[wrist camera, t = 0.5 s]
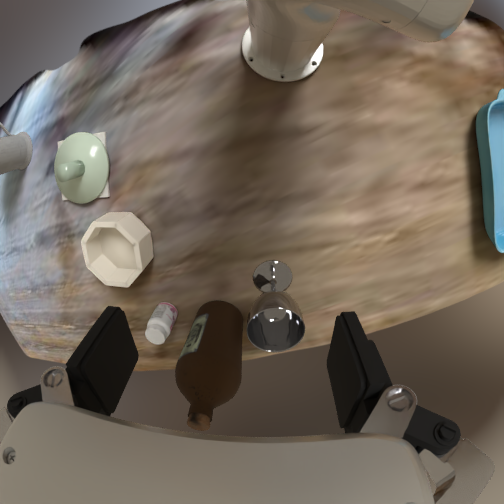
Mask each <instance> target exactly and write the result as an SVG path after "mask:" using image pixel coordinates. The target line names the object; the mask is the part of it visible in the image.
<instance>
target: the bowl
mask: <svg viewBox="0 0 504 504" xmlns="http://www.w3.org/2000/svg"><path fill="white" fill-rule="evenodd" d="M81 244H82V249H83V254H84V258H85V263H86V266H87V268H88V269H89V270H90V271H91V272H92V273H93V274H94V275H95V276H96V277H97V278H98V279H100V280H101V281H102V282H103V283H104V284H106V285H109V286H119V287H129V286H130V285H131V284H132V283H133V281H134V280H135V279H136V278H137V277H138V276H139V275H140V273H141V272H142V271H143V270H144V269H145V267H146V266H147V265H148V264H149V262H150V261H151V260H152V259H153V257H154V255H153V242H152V238H151V232H150V230H149V229H148V228H147V227H146V226H145V224H144V223H143V222H142V221H141V220H140V219H139V218H137V217H136V216H135V215H134V214H133V213H132V212H108V213H107V214H105V215H103V216H102V217H100V218H98V219H97V220H95V221H93V222H92V224H91V225H90V227H89V228H88V230H87V232H86V233H85V235H84V237H83V238H82V240H81Z"/></svg>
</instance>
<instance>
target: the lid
mask: <svg viewBox="0 0 504 504" xmlns="http://www.w3.org/2000/svg"><path fill="white" fill-rule="evenodd" d="M109 170H110V163H109V157H108V153H107V150H106V148H105V146H104V144H103V143H102V142H101V140H100V139H99V138H98V137H97V136H95V135H93V134H91V133H88V132H79V133H75V134H72V135H70V136H69V137H68V138H66V139H65V140H64V142H63V143H62V144H61V146H60V147H59V149H58V152H57V154H56V158H55V165H54V171H55V178H56V182H57V185H58V187H59V189H60V191H61V192H62V194H63V195H64V196H65V197H66V198H67V199H69V200H70V201H72V202H74V203H78V204H84V203H88V202H90V201H92V200H94V199H96V198H97V197H98V196H99V195H100V194H101V193H102V191H103V190H104V188H105V186H106V184H107V181H108V177H109Z"/></svg>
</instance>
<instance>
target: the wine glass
mask: <svg viewBox="0 0 504 504" xmlns="http://www.w3.org/2000/svg"><path fill="white" fill-rule="evenodd" d="M253 281H254V284H255V286H256V287H257V288H258V289H259V290H260V291H261V292H263V294H261V295H260V296H259V297H258V298H257V299H256V300H255V301H254V303H253V305H252V307H251V309H250V312H249V315H248V321H247V336H248V339H249V340H250V342H251V343H252V344H253V345H254V346H255V347H257V348H259V349H261V350H263V351H267V352H282V351H286V350H289V349H291V348H293V347H294V346H296V345H297V344H298V343H299V342H300V341H301V340H302V338H303V336H304V333H305V325H304V320H303V316H302V312H301V310H300V308H299V306H298V304H297V303H296V301H295V300H294V299H293V298H292V297H291V296H290V295H289V294H287V293H285V292H283V291H285V290H286V289H287V288H288V287H289V286H290V284H291V282H292V272H291V270H290V268H289V267H288V266H287V265H286V264H284V263H283V262H280V261H276V260H270V261H266V262H263V263H262V264H260V265H259V266H258V267H257V268H256V269H255V271H254V274H253Z"/></svg>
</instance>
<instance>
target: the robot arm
mask: <svg viewBox="0 0 504 504" xmlns="http://www.w3.org/2000/svg"><path fill="white" fill-rule="evenodd" d="M473 2H474V0H246V3H247V10H248V17H249V25H250V27H249V28H248V29H247V31H246V32H245V34H244V36H243V40H242V52H243V56H244V58H245V60H246V62H247V63H248V65H249V66H250V67H251V68H252V69H253V70H254V71H255V72H256V73H258V74H259V75H261V76H262V77H265V78H267V79H270V80H273V81H278V82H293V81H297V80H300V79H303V78H305V77H307V76H309V75H310V74H312V73H313V72H314V71H315V70H316V69H317V67H318V66H319V64H320V62H321V60H322V57H323V44H322V42H323V41H324V39H325V38H326V36H327V35H328V33H329V32H330V31H331V29H332V28H333V26H334V25H335V23H336V22H337V20H338V17H339V15H340V10H345V11H348V12H351V13H353V14H356V15H359V16H362V17H364V18H367V19H369V20H372V21H374V22H377V23H379V24H381V25H384V26H386V27H388V28H390V29H393V30H395V31H397V32H399V33H401V34H404V35H406V36H408V37H410V38H413V39H416V40H419V41H423V42H437V41H441V40H443V39H445V38H447V37H448V36H449V35H451V34H452V33H453V32H454V31H455V30H456V29H457V27H458V26H459V25H460V24H461V22H462V21H463V19H464V18H465V16H466V15H467V13H468V11H469V9H470V7H471V5H472V3H473ZM251 59H252V60H253V61H252V62H250V60H251ZM312 64H314V66H313V65H312ZM281 76H283V77H284V78H283V79H282V78H281ZM137 361H138V351H137V348H136V346H135V343H134V340H133V337H132V334H131V331H130V328H129V325H128V322H127V319H126V316H125V313H124V311H122V310H121V308H120V307H113V306H108V307H107V308H106V309H105V310H104V312H103V313H102V314H101V316H100V317H99V318H98V320H97V321H96V322H95V324H94V325H93V326H92V328H91V329H90V330H89V332H88V333H87V335H86V336H85V337H84V339H83V340H82V342H81V343H80V344H79V346H78V347H77V349H76V350H75V351H74V353H73V354H72V356H71V357H70V359H69V360H68V362H67V363H66V365H67V368H66V369H64V368H62V367H57V366H56V367H51V368H49V369H48V370H46V371H45V372H44V374H43V375H42V377H41V384H40V385H38V386H35V387H32V388H29V389H27V390H24V391H21V392H19V393H16V394H14V395H13V396H12V397H11V398H10V399H9V401H8V404H7V409H6V408H5V407H4V408H2V409H1V410H0V504H473V503H474V502H475V500H476V499H477V498H478V496H479V495H480V494H481V492H482V491H483V489H484V488H485V486H486V485H487V483H488V481H489V480H490V479H491V477H492V475H493V473H494V463H493V461H492V460H491V459H490V458H489V457H488V456H487V455H486V454H485V453H483V452H482V451H481V450H480V449H479V448H477V447H476V446H475V445H474V444H473V443H471V442H470V441H469V440H468V439H466V438H465V439H464V440H463V439H462V438H461V437H460V436H461V435H460V429H459V427H458V426H457V424H456V423H454V422H453V421H451V420H449V419H447V418H444V417H442V416H440V415H438V414H435V413H433V412H431V411H429V410H427V409H424V408H422V407H420V406H418V405H417V398H416V395H415V394H414V392H413V391H412V390H411V389H409V388H407V387H406V386H402V385H394V386H393V385H392V383H391V380H390V378H389V375H388V373H387V371H386V368H385V366H384V364H383V361H382V359H381V357H380V355H379V352H378V350H377V348H376V345H375V343H374V342H373V341H372V340H368V339H367V337H366V335H365V333H364V330H363V328H362V326H361V324H360V322H359V319H358V317H357V315H356V313H355V312H342V313H341V314H340V316H337V317H336V321H335V326H334V331H333V336H332V340H331V345H330V350H329V354H328V358H327V369H328V373H329V378H330V382H331V387H332V391H333V396H334V400H335V405H336V409H337V415H338V420H339V424H340V427H341V428H344V429H345V433H343V434H329V435H317V436H304V437H303V436H301V437H235V436H219V435H208V434H198V433H189V432H182V431H176V430H170V429H164V428H158V427H153V426H148V425H143V424H138V423H134V422H130V421H125V420H121V419H117V418H114V417H110V415H111V413H113V412H114V411H115V409H116V407H117V405H118V402H119V400H120V398H121V396H122V393H123V391H124V389H125V387H126V384H127V382H128V380H129V378H130V376H131V373H132V371H133V369H134V367H135V365H136V363H137ZM426 471H427V472H428V473H429V474H430V475H429V477H430V478H431V479H433V481H434V482H435V484H436V491H435V494H434V495H433V494H432V490H431V487H430V483H429V479H428V476H427V473H426Z"/></svg>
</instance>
